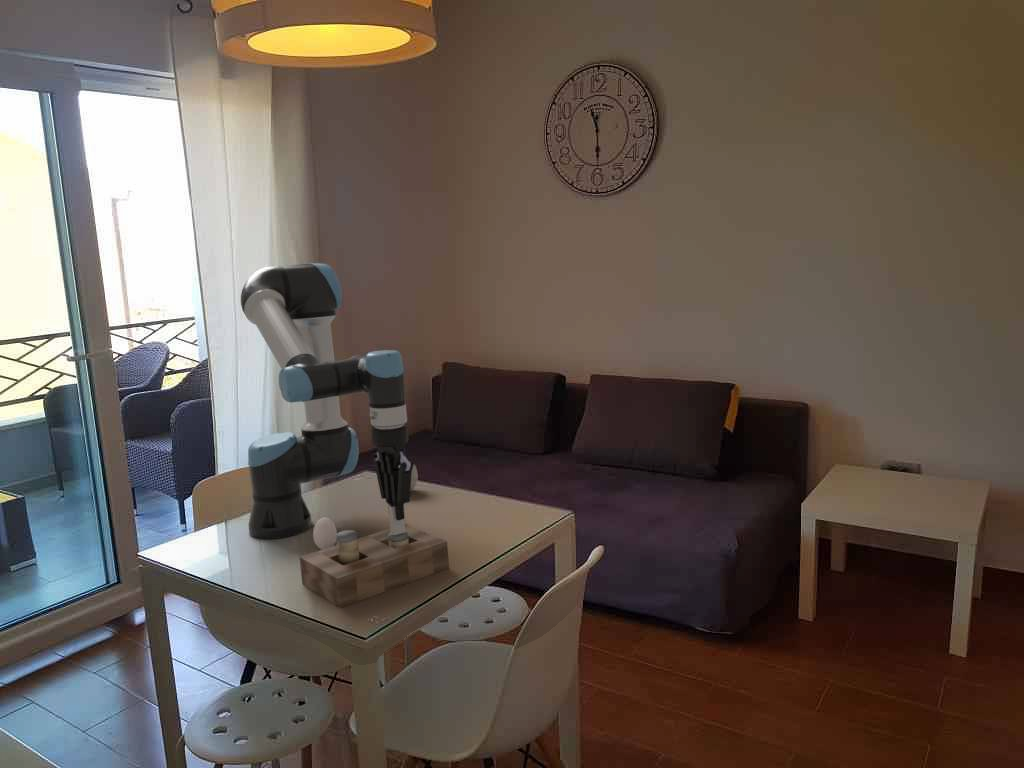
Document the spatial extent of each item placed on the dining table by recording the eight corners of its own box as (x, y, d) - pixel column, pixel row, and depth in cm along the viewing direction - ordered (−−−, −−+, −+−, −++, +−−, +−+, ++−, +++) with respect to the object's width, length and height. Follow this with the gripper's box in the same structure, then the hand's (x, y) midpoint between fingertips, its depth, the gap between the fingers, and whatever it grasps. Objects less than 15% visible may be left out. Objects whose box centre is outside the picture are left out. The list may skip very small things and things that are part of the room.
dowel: (334, 560, 168) (332, 534, 167) (353, 554, 170) (350, 528, 169) (345, 566, 165) (342, 539, 164) (363, 560, 167) (361, 533, 166)
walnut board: (302, 584, 170) (299, 556, 169) (407, 548, 187) (405, 523, 186) (340, 607, 158) (337, 578, 157) (449, 567, 175) (447, 541, 173)
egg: (317, 555, 185) (314, 523, 184) (312, 548, 190) (309, 517, 189) (341, 550, 188) (338, 518, 186) (334, 543, 192) (331, 512, 191)
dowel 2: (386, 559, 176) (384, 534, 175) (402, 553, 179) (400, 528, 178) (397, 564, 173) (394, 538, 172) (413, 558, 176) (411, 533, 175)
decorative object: (417, 496, 225) (415, 461, 223) (385, 498, 225) (383, 463, 223) (420, 486, 234) (417, 452, 232) (389, 488, 233) (386, 454, 231)
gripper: (357, 424, 173) (367, 530, 177) (390, 432, 163) (400, 545, 167) (387, 417, 178) (396, 521, 182) (421, 425, 168) (430, 535, 172)
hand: (398, 532), depth 175 cm, fingers closed
